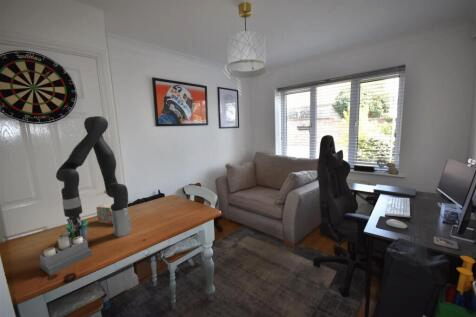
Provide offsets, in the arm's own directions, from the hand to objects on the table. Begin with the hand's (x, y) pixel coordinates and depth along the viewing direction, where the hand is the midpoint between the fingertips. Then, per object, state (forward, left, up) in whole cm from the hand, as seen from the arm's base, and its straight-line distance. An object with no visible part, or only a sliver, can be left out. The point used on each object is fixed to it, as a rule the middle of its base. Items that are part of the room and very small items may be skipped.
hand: (77, 236), depth 113 cm
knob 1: (+12, 0, -7) cm, 14 cm away
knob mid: (+6, 0, -4) cm, 7 cm away
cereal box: (-33, -26, -11) cm, 43 cm away
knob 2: (0, 0, -7) cm, 7 cm away
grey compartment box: (+6, 0, -11) cm, 12 cm away
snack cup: (-8, -20, -11) cm, 24 cm away
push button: (0, -12, -11) cm, 16 cm away
